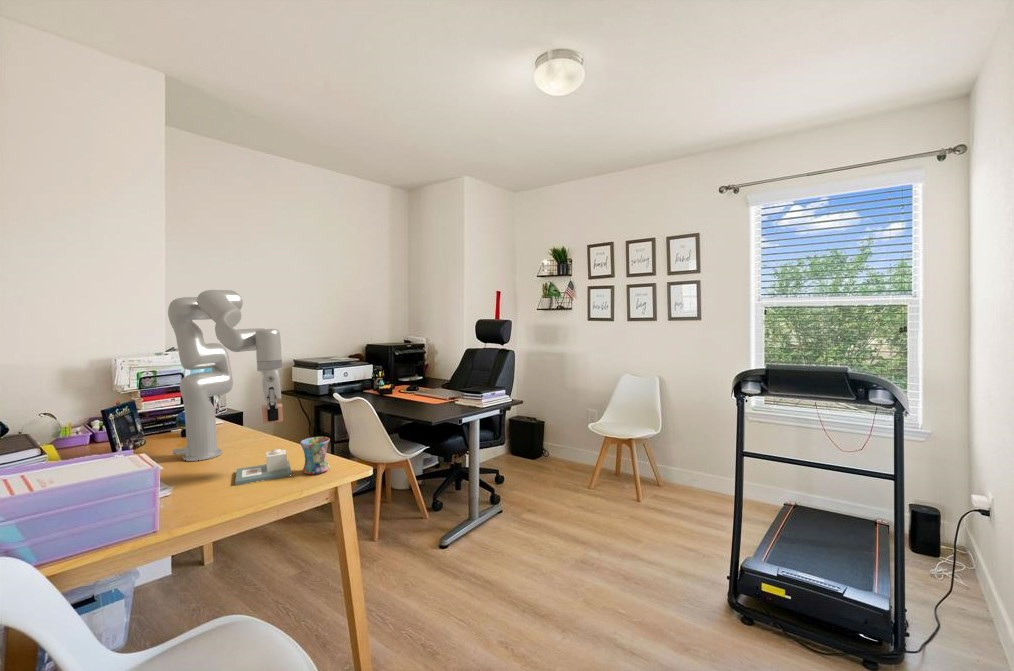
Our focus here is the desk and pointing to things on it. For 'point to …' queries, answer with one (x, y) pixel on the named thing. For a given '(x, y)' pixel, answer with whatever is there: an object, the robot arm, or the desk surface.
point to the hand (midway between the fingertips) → (272, 418)
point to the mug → (315, 455)
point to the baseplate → (266, 468)
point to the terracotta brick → (265, 417)
